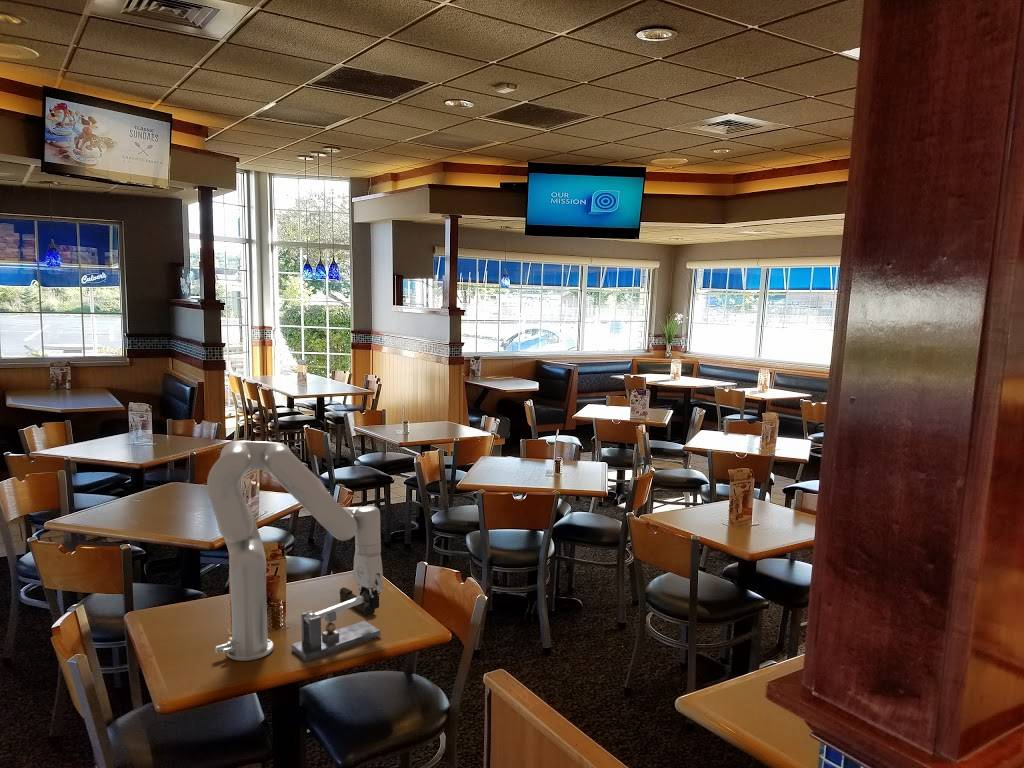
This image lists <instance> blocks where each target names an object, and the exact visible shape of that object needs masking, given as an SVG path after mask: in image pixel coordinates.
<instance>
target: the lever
mask: <svg viewBox="0 0 1024 768" xmlns="http://www.w3.org/2000/svg"><path fill="white" fill-rule="evenodd" d="M374 590H375V589H373V592H374ZM369 597H370V592H369V589H367V590H365V591H364V592H363V593H362V595H361V596H360V595H358V596H357V597H356V598H353V599H351V600H348V601H345V602H343V601H342V602H340V603H338V604H335V605H332V606H330V607H327V608H325V609H322V610H319V611H316V612H313V613H312V612H307V611H306V612H307V613H306V614H305V615H304V621H306V622H307V623H308V624H309V618H312V617H316V616H320V617H321V620H322V619H324V620H325V621H326V622H327V623H330V622H335V621H337V619H338V618H337V613H340V612H343V611H345V610H348V609H351V608H354V607H353V606H356V605H358V604H361V603H363V602H364V603H366V604H369Z"/></svg>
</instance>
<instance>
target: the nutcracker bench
mask: <svg viewBox="0 0 1024 768" xmlns="http://www.w3.org/2000/svg"><path fill="white" fill-rule="evenodd" d="M307 612H312V613H314V612H313V610H308V611H304V612H301V613H300V615H301V616H300V617H301V619H300V620H301V622H300V623H301V640H300V641H296V642H294V643H291V651H292V652H293V653H294V654H295V655H296V656H298V657H299V658H300V659H302V660H303V661H305V662H306V663H308V662H310V661H313V660H316V659H319V658H322V657H325V656H327V655H330V654H334V653H337V652H339V651H342V650H345V649H349V648H351V647H353V646H357V645H360V644H363V643H366V642H368V641H367V640H369V641H371V640H370V639H372V638H375V637H378V636H380V637H381V629H379V628H378V627H376V626H374V625H373V624H371V623H370V622H368V621H366V620H362V621H360V622H356V623H354V624H349V625H347V626H344V627H340V628H338V629H336V628H337V627H336V624H335V623H334V621H332V622H330V623H329V622H327V623H326V624H325V626H324V629H325V631H322V619H321V617H320V616H316V617H312V618H309V624H308V623H307V622H306V621H304V615H305V614H306V613H307ZM378 638H379V637H378ZM375 639H376V638H375ZM372 640H373V639H372ZM365 641H366V642H365Z"/></svg>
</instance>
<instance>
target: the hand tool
mask: <svg viewBox="0 0 1024 768" xmlns="http://www.w3.org/2000/svg"><path fill="white" fill-rule="evenodd" d="M356 597H358V596H357V595H355V593H353V590H351V589H349V588H346V587H342V588H340V589H339V598H340V601H342V603H343V602H345V601H348V600H351V599H353V598H356ZM352 608H355V609H356V610H357V611H360V612H361V613H363V614H364V616H365V617H369V616H368V615H370V616H372V615H371V614H373V613H374V614H375V612H376V609H373V610H369V604H363V605H361V604H358V605H356V606H353V607H352ZM374 614H373V615H374Z"/></svg>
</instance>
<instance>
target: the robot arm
mask: <svg viewBox="0 0 1024 768" xmlns="http://www.w3.org/2000/svg"><path fill="white" fill-rule="evenodd" d="M219 455H220V456H219V458H217V460H216V461H215V462H214V464H213V465H212V466H211V469H210V470H209V473H208V475H207V479H206V480H207V481H206V488H207V492H208V496H209V499H210V503H211V505H212V506H211V507H212V511H213V513H214V517H215V519H216V522H217V528H218V532H219V534H220V535H221V536H222V538H223V539H224V541H225V544H226V545H225V546H226V547H227V550H228V553H229V565H228V567H229V581H230V583H229V584H230V585H229V587H230V604H231V605H230V608H231V610H230V611H231V630H232V631H231V635H232V636H231V637H229V638H228V641H226V642H225V643H223V644H222V643H221V644H219V645H215V646H214V650H215V653H216V654H219V653H221V652H222V654H223V655H225V654H226V656H227V657H228V658H229V659H231V660H234V661H240V662H244V661H245V662H246V661H253V660H254V661H255V660H258V659H261V658H263V657H266V656H268V655H269V654H271V652H273V650H274V642H273V641H272V640H271V639H269V638H268V611H267V610H268V607H267V606H268V605H267V604H268V603H267V601H268V600H267V560H266V559H267V558H266V553H265V549H264V548H265V547H264V545H263V544H264V543H263V540H262V538H261V535H260V532H259V528H258V525H257V523H256V519H255V516H254V513H253V511H252V509H251V507H250V506H249V505H248V504H247V503H246V500H245V497H244V493H243V490H242V487H241V482H242V481H241V480H242V479H243V477H244V476H245V475H246V474H247V473H248V472H249V471H250V470H251V471H253V470H255V471H257V470H259V471H266V472H267V473H268V475H270V476H271V478H273V479H274V480H275V481H276V482H277V483H278V484H279V485H281V486H282V488H284V490H286V491H287V492H288V493H289V494H290V495H291V496H292V497H293V498H294V499H295V500H296V501H297V502H298V503H299V504H300V506H302V507H303V509H305V510H306V511H307V512H308V514H310V515H311V516H313V518H314V519H315V520H316V521H317V522H318V523H319V525H321V526H322V527H323V528H324V529H325V530H326V531H327V532H328V533H330V535H332V536H333V537H334V538H335V539H336V540H338V541H339V540H340V541H345V542H346V541H348V540H352V538H354V540H355V541H354V542H355V543H354V544H355V546H354V548H355V550H354V551H355V552H354V557H353V573H352V575H353V581H354V582H355V583H356V584H357V585H358V591H359V596H361V595H362V593H363V592H364V591H365V590H367V589H369V592H370V597H369V610H373V609H375V610H376V609H379V608H380V596H381V595H380V594H381V593H382V592H383V591H384V586H383V582H384V581H383V580H384V574H383V573H384V571H383V563H382V556H381V555H382V554H381V553H382V544H381V543H382V542H381V541H382V539H381V512H380V509H379V508H378V507H377V506H375V505H374V506H373V505H364V506H360V507H351V506H350V507H348V506H347V507H346V506H341V504H339V502H338V501H337V500H336V499H335V498H334V497H333V496H332V494H331V493H330V492H329V491H328V489H327V488H326V486H325V484H324V483H323V482H322V480H320V478H319V477H318V476H317V475H316V474H315V473H314V472H312V471H311V470H310V469H309V468H308V467H307V466H306V465H305V463H303V462H302V461H301V460H300V459H299V458H298V457H297V456H296V455H295V454H294V453H293V452H292V450H291V448H290V447H289V446H288V445H286V444H285V443H282V442H277V441H276V442H275V441H256V440H255V441H254V440H253V441H251V440H234V441H230V442H227V444H225V445H224V446H223V447H222V449H221V452H220V454H219ZM373 590H374V592H373ZM363 604H366V603H364V602H363V603H361V605H363Z"/></svg>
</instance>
